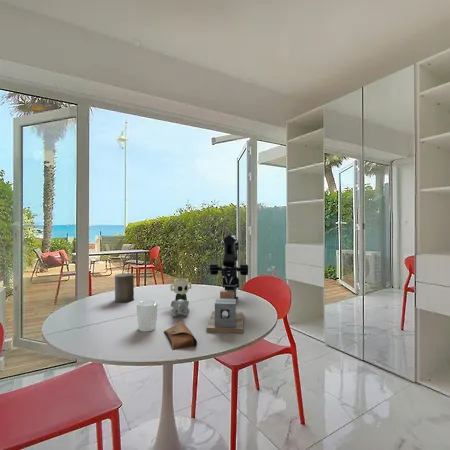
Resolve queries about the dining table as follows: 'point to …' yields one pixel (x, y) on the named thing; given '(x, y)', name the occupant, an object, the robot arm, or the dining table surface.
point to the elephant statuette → (180, 307)
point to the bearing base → (226, 329)
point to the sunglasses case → (180, 336)
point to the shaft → (226, 295)
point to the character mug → (180, 288)
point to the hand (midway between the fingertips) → (228, 284)
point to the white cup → (147, 315)
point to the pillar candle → (124, 287)
